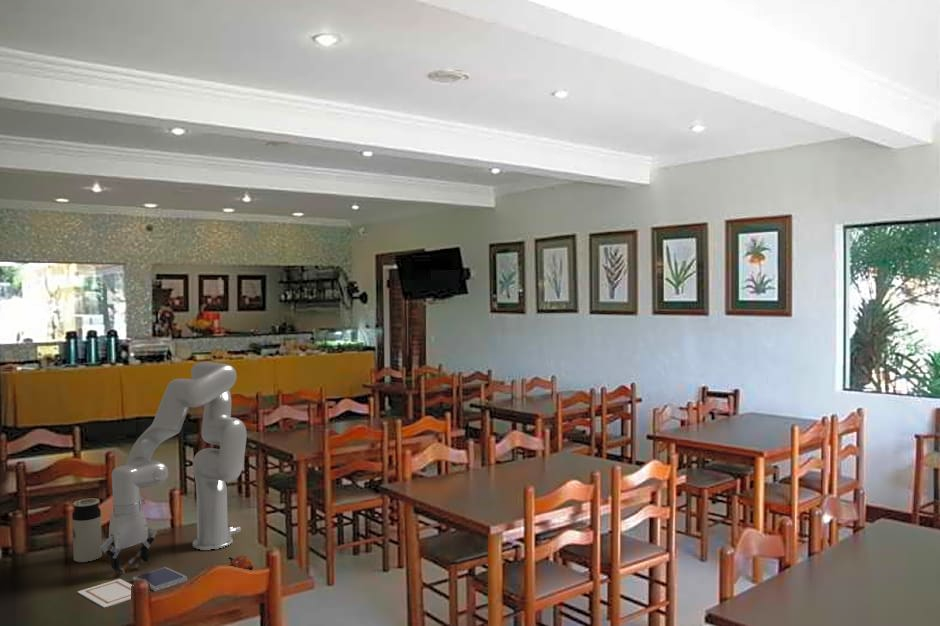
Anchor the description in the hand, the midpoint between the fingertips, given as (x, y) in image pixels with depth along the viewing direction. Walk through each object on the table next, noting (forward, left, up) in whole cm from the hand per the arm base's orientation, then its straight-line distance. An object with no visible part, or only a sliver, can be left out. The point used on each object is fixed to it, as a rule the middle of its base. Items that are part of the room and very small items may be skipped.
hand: (130, 565), depth 234 cm
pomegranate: (-17, +31, -2) cm, 36 cm away
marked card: (+11, +11, -2) cm, 16 cm away
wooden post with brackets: (0, 0, -1) cm, 1 cm away
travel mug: (+3, -22, -2) cm, 22 cm away
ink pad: (-2, +13, -2) cm, 13 cm away
